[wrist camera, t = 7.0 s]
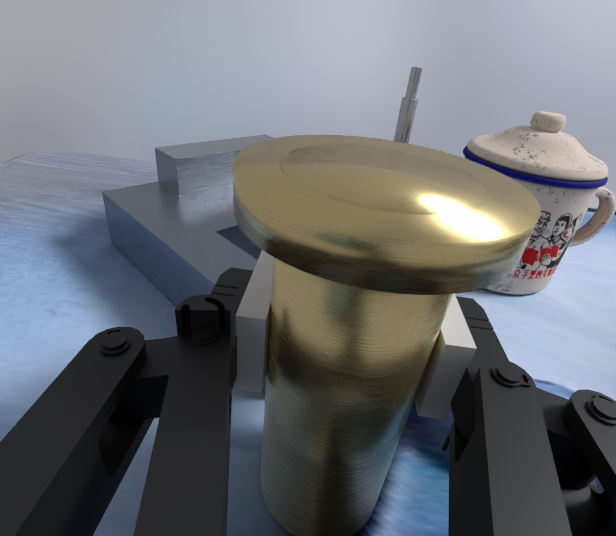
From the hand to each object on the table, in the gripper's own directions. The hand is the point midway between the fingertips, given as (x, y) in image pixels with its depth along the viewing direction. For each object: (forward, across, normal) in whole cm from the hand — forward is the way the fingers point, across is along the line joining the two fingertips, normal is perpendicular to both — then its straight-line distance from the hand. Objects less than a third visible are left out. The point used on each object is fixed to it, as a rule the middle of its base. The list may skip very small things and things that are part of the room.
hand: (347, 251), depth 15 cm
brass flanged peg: (-5, 0, -7) cm, 9 cm away
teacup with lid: (+14, +14, -8) cm, 21 cm away
